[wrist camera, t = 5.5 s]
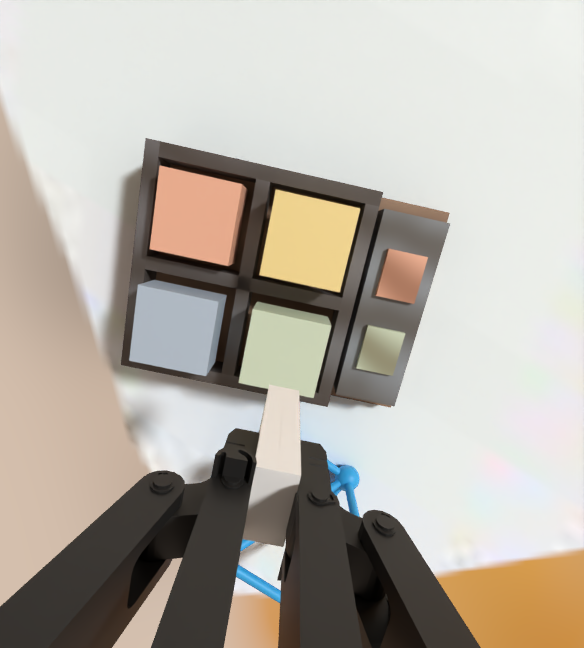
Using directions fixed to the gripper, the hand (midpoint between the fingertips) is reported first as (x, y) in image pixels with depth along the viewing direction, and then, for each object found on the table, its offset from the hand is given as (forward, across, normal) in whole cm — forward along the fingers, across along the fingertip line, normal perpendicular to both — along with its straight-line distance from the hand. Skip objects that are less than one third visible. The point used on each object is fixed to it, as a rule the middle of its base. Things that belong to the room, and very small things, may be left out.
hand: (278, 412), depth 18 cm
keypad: (+15, -1, +4) cm, 16 cm away
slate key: (+11, -8, 0) cm, 14 cm away
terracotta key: (+13, -8, +8) cm, 17 cm away
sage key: (+11, 0, 0) cm, 11 cm away
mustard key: (+11, 0, +8) cm, 14 cm away
